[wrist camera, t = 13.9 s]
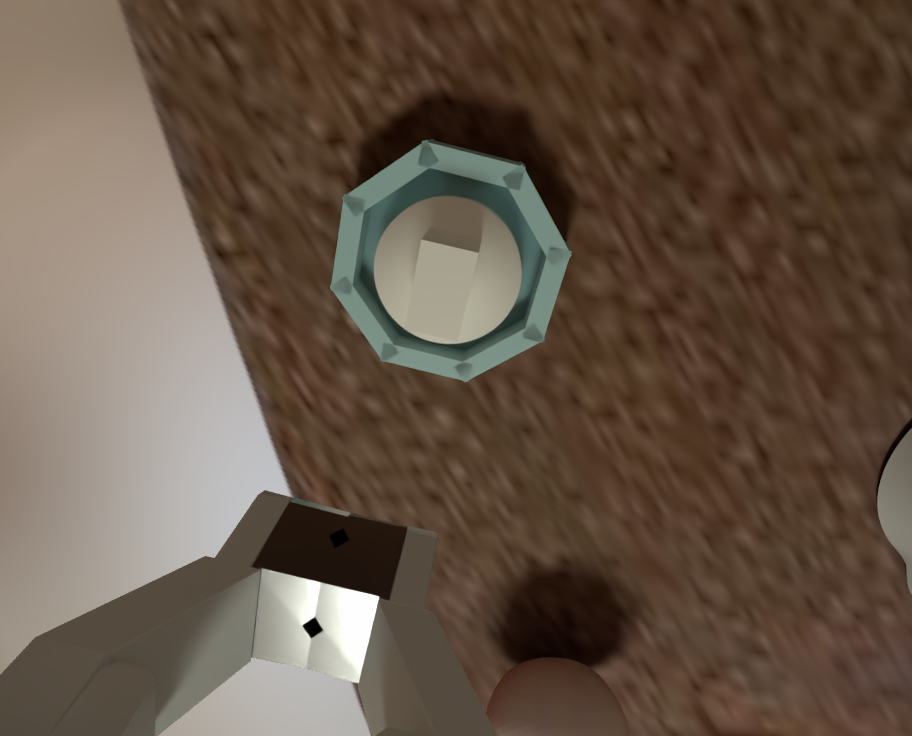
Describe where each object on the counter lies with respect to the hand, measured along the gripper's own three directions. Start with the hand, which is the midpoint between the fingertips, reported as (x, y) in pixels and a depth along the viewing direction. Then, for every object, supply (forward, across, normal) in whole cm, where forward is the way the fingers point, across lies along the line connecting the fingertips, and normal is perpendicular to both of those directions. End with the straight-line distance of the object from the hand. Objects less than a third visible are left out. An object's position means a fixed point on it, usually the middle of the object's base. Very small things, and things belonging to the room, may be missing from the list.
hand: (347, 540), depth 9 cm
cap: (+20, 0, 0) cm, 20 cm away
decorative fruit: (+21, -13, +26) cm, 36 cm away
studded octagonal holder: (+21, 0, 0) cm, 21 cm away
